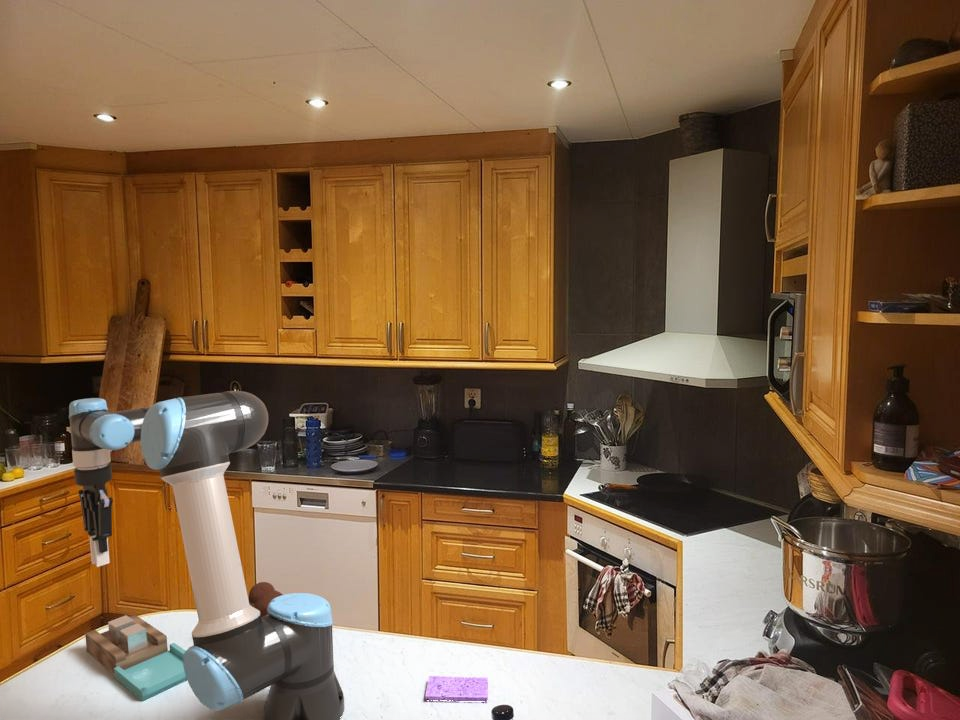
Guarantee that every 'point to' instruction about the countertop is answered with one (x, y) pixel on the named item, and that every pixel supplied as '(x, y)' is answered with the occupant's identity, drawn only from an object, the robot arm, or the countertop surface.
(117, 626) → the far block
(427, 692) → the sponges
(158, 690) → the tray
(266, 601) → the ice cream bowl
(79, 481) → the robot arm
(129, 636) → the near block
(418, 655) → the countertop surface
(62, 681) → the countertop surface
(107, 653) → the groove board
